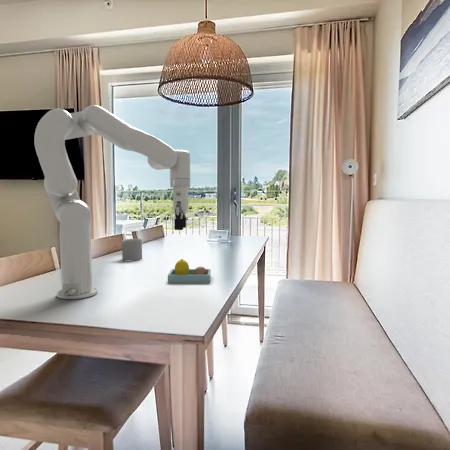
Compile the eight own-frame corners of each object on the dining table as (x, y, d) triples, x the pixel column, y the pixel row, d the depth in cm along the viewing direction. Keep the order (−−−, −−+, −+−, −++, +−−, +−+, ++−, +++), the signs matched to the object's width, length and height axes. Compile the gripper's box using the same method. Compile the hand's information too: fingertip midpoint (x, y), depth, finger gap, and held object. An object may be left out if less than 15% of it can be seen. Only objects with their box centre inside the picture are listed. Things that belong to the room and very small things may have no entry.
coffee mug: (139, 260, 185) (138, 241, 184) (119, 260, 185) (119, 241, 185) (146, 256, 198) (145, 238, 197) (127, 256, 199) (127, 237, 198)
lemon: (182, 277, 146) (181, 257, 145) (192, 279, 142) (192, 258, 142) (171, 279, 141) (171, 259, 141) (181, 281, 138) (181, 260, 137)
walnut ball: (206, 280, 140) (206, 267, 139) (193, 280, 140) (193, 267, 139) (207, 277, 145) (207, 265, 144) (194, 277, 145) (194, 265, 144)
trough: (209, 284, 137) (209, 275, 136) (167, 284, 137) (167, 275, 136) (210, 277, 148) (210, 269, 148) (171, 277, 148) (171, 269, 147)
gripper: (187, 182, 131) (188, 230, 132) (192, 184, 148) (192, 226, 149) (166, 182, 131) (167, 230, 132) (173, 184, 148) (173, 226, 149)
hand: (180, 228), depth 141 cm, fingers open, 9 cm apart
